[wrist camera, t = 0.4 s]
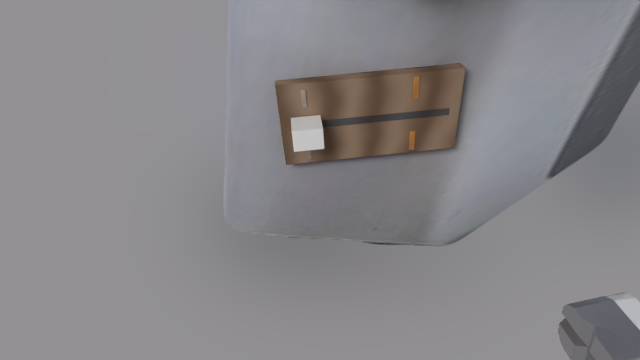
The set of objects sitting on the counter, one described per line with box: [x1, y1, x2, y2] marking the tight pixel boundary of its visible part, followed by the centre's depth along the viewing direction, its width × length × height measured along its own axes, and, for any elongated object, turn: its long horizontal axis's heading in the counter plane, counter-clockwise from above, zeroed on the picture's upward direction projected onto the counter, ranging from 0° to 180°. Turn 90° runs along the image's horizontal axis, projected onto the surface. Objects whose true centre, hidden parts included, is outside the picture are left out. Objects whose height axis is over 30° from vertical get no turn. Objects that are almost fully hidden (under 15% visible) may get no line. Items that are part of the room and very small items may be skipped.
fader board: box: [275, 63, 466, 165], centre depth 55 cm, size 25×12×2 cm, turn 94°
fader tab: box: [291, 115, 324, 152], centre depth 52 cm, size 4×3×4 cm
